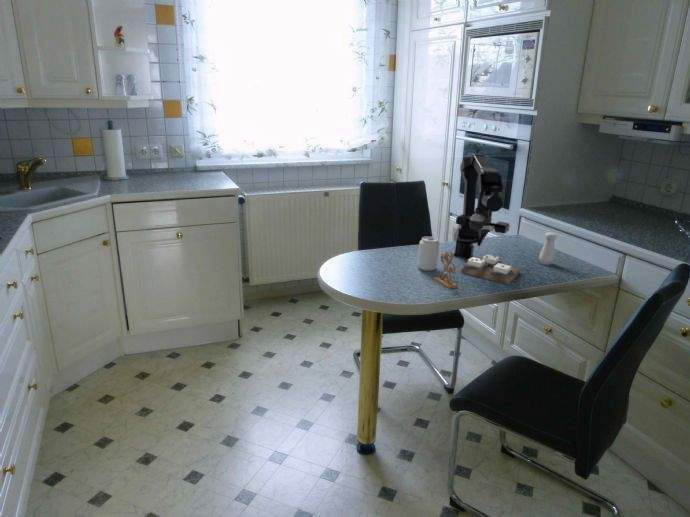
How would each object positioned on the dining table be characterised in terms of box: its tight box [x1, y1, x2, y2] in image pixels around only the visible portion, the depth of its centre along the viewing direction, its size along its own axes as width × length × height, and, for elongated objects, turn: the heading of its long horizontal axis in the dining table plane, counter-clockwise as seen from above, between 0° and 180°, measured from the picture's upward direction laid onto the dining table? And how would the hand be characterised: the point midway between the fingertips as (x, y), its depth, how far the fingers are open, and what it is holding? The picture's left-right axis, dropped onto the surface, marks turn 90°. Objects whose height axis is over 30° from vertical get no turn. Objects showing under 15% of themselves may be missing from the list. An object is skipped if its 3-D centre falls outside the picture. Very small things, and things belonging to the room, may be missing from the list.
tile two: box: [481, 253, 500, 264], centre depth 198 cm, size 5×5×2 cm
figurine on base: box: [433, 251, 458, 290], centre depth 180 cm, size 9×4×12 cm, turn 27°
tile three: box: [466, 256, 485, 268], centre depth 194 cm, size 5×5×2 cm
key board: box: [460, 260, 521, 285], centre depth 195 cm, size 18×15×3 cm
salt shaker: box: [538, 231, 557, 266], centre depth 208 cm, size 6×6×13 cm
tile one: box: [493, 263, 512, 274], centre depth 189 cm, size 5×5×2 cm
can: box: [416, 236, 441, 272], centre depth 194 cm, size 8×8×12 cm
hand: (479, 245), depth 192 cm, fingers closed
